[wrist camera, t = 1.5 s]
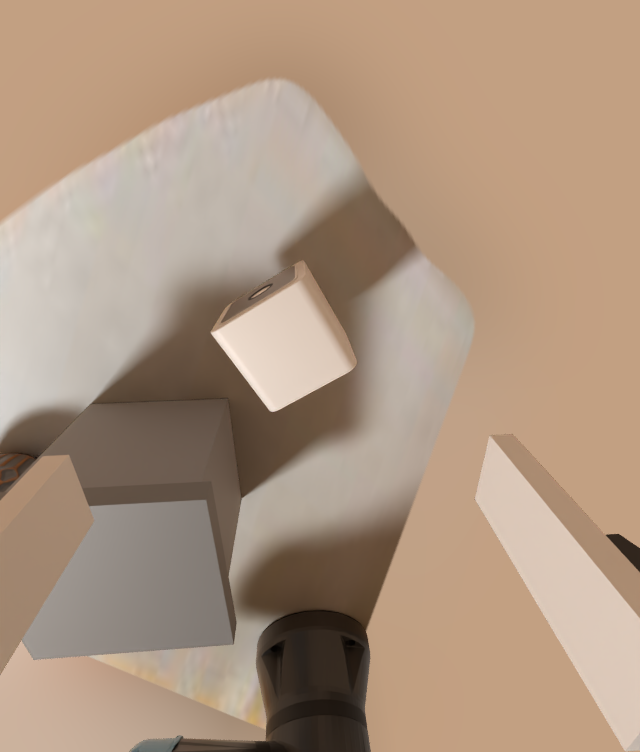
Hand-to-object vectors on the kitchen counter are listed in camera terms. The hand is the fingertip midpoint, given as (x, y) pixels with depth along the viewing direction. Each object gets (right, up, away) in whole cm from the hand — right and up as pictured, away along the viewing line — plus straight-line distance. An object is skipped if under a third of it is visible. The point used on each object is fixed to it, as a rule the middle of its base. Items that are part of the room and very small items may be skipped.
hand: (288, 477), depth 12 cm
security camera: (-1, +9, +18) cm, 20 cm away
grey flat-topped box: (-13, -4, +24) cm, 27 cm away
